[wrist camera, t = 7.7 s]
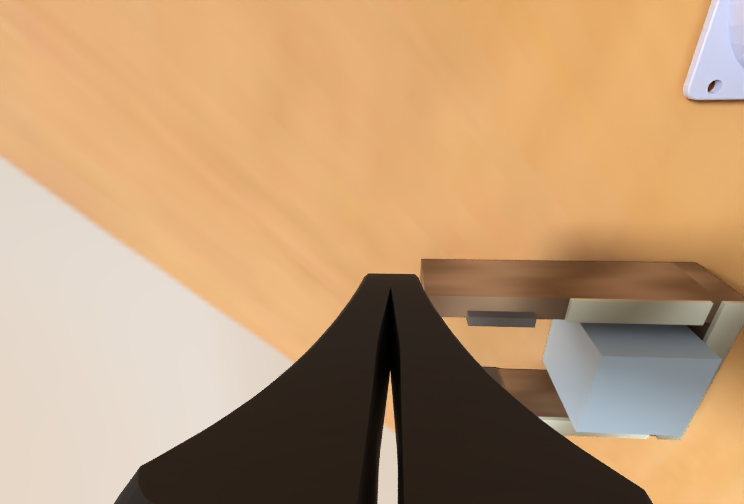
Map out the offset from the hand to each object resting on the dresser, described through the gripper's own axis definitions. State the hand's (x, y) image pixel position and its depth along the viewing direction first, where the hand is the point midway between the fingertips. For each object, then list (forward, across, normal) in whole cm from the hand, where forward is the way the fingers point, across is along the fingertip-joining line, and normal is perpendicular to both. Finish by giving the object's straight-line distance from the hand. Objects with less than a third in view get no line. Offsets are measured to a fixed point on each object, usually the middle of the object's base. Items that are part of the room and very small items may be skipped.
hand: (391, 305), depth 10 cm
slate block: (+10, -12, +8) cm, 18 cm away
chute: (+10, -8, +8) cm, 16 cm away
